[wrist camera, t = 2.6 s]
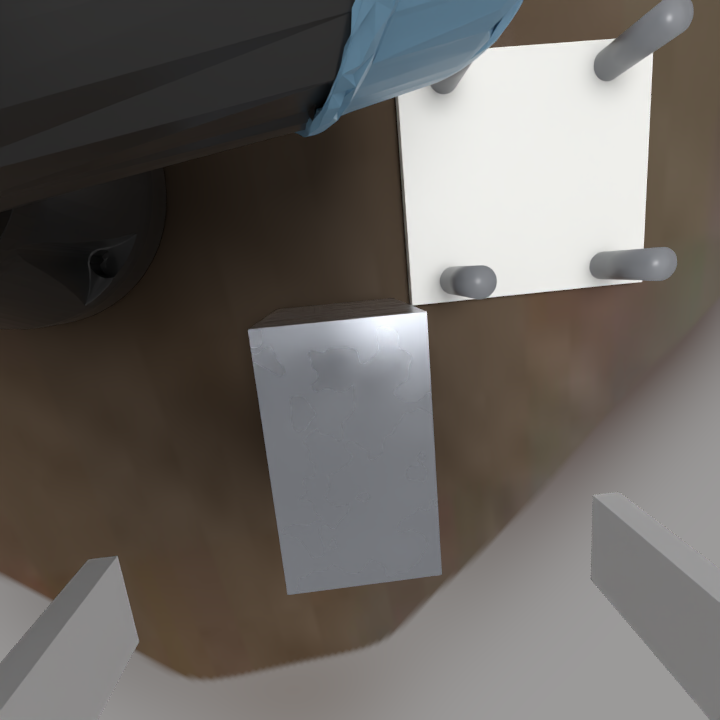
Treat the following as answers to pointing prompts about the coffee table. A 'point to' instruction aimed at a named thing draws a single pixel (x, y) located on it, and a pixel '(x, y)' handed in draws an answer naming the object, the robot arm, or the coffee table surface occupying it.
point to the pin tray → (534, 168)
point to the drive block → (349, 442)
